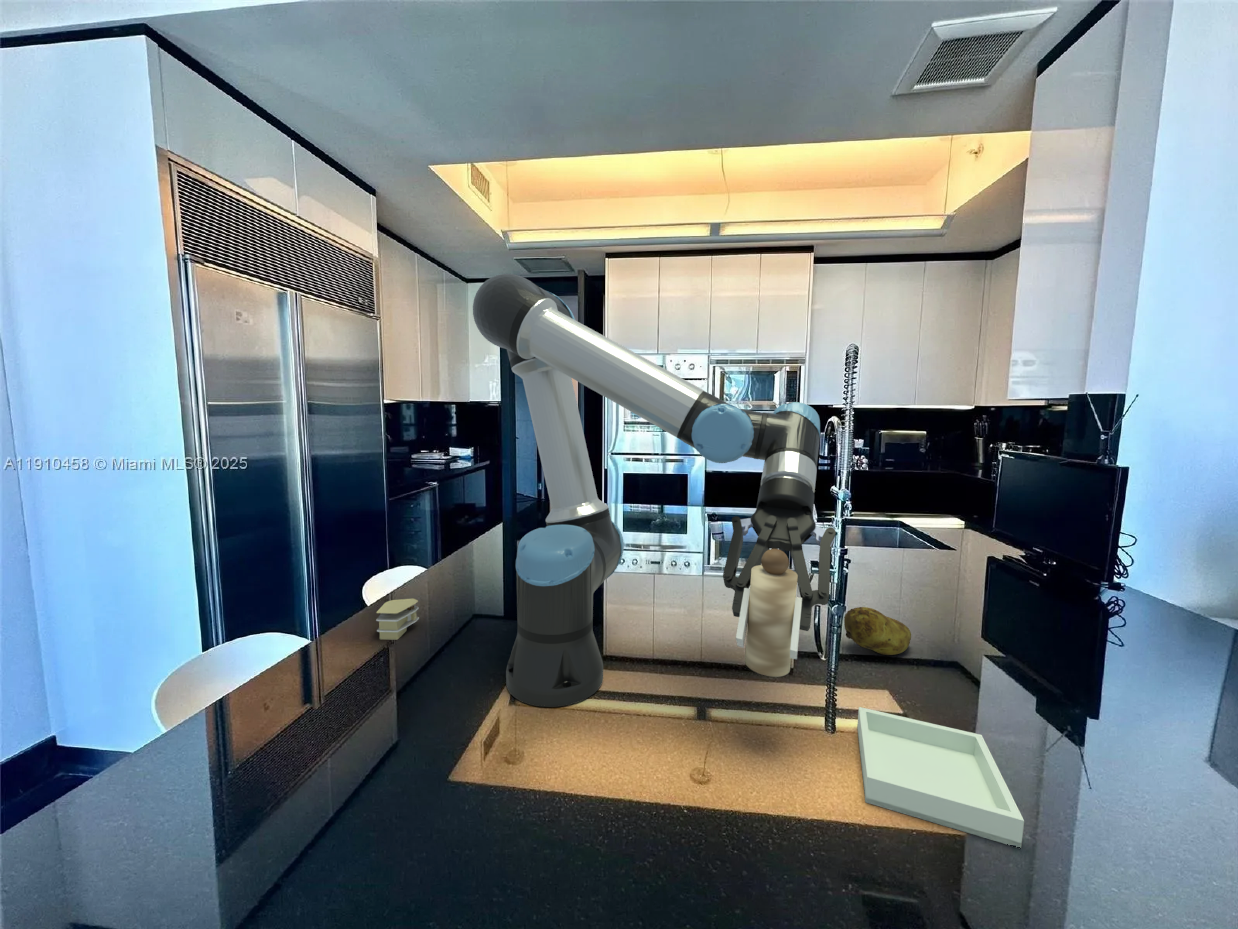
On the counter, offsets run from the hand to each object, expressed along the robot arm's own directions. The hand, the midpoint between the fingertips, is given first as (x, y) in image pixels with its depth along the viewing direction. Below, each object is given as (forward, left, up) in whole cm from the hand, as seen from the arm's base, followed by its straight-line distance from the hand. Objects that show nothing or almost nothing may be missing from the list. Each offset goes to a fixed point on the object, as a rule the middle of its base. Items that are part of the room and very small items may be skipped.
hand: (766, 648), depth 56 cm
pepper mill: (0, +4, -4) cm, 5 cm away
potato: (+16, +38, -15) cm, 44 cm away
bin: (+18, +6, -15) cm, 24 cm away
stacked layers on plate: (-67, +7, -15) cm, 69 cm away
